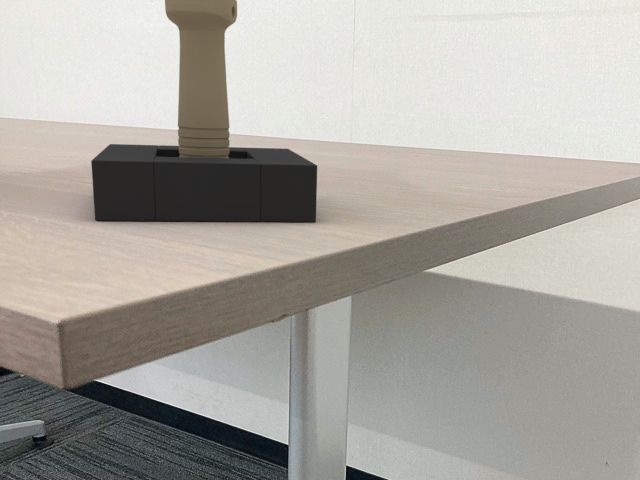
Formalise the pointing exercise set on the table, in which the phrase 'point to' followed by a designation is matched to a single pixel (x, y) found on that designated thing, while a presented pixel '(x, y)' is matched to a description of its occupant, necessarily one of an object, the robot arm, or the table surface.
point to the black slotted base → (203, 185)
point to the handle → (202, 75)
